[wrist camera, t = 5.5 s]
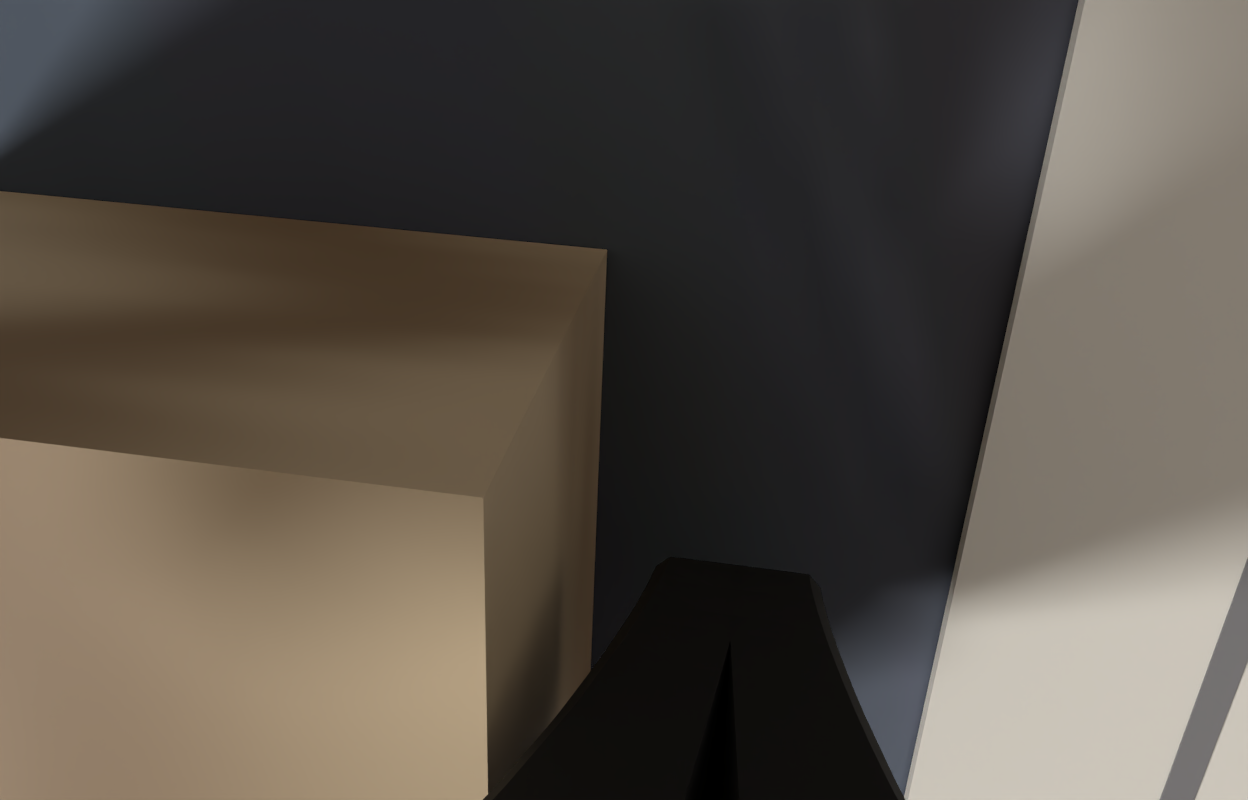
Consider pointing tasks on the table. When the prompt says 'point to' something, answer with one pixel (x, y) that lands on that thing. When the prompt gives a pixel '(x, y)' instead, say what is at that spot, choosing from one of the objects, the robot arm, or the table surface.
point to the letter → (1114, 445)
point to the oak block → (288, 503)
